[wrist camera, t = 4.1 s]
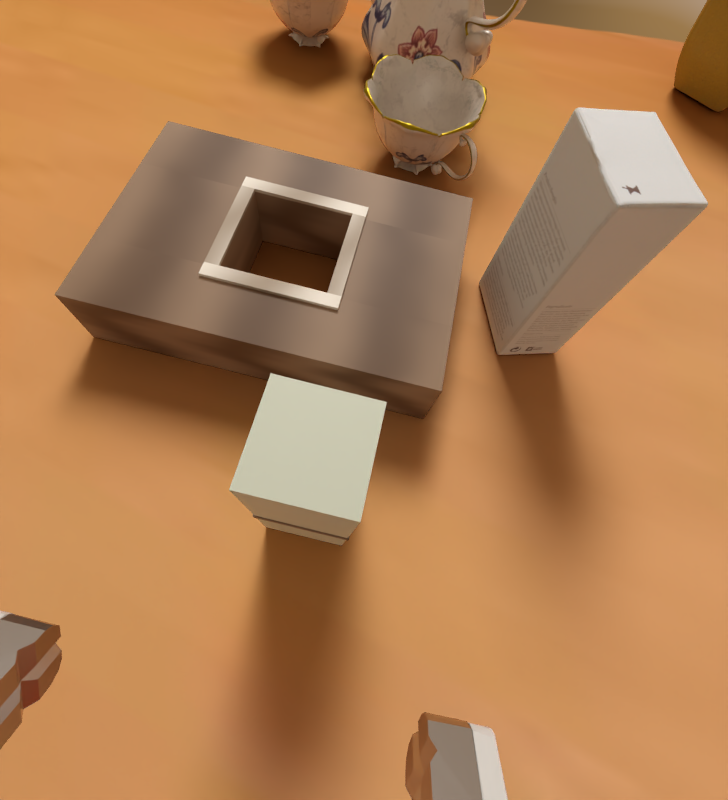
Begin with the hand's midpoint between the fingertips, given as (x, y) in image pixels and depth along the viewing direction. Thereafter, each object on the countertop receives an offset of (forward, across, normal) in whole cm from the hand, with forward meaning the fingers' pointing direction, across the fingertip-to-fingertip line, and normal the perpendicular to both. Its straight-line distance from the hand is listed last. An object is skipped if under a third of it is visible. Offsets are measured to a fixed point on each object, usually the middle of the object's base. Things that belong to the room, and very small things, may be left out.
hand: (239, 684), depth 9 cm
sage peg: (+13, 0, +4) cm, 13 cm away
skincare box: (+23, -10, -7) cm, 26 cm away
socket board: (+22, +5, -5) cm, 23 cm away
